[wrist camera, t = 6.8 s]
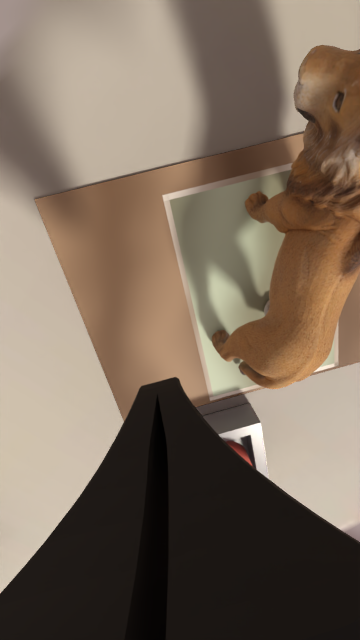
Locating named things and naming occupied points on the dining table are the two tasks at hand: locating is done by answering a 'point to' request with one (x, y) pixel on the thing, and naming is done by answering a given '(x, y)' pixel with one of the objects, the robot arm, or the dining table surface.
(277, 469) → the dining table surface
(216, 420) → the button housing
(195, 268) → the picture sheet
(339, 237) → the lion figurine
